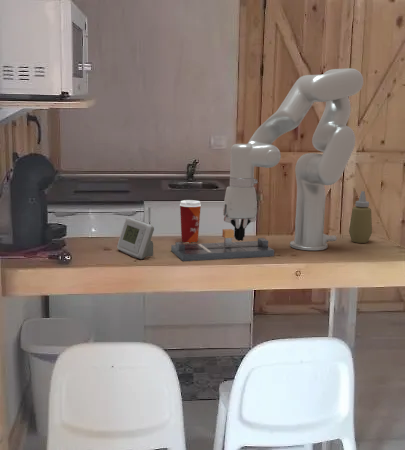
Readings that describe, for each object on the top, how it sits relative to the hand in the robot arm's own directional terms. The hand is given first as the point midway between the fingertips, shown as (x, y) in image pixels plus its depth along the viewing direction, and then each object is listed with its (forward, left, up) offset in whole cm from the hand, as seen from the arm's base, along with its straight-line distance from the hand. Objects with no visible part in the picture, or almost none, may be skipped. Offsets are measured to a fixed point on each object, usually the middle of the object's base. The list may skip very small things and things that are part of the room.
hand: (239, 239), depth 213 cm
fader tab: (+4, 0, -2) cm, 4 cm away
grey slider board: (+6, 0, -4) cm, 7 cm away
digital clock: (+33, -5, -5) cm, 34 cm away
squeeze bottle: (-48, -7, -5) cm, 49 cm away
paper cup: (+11, -20, -5) cm, 23 cm away
